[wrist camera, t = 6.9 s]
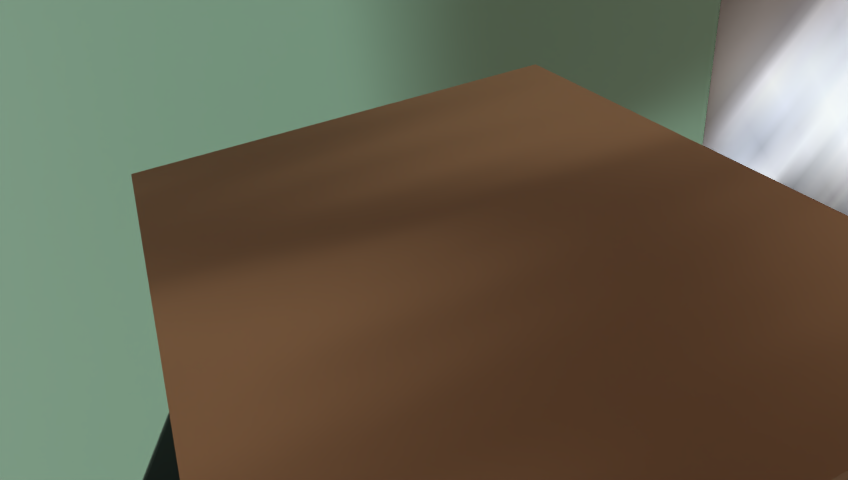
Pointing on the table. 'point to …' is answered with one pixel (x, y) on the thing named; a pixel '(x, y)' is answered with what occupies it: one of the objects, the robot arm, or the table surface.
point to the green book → (222, 128)
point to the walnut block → (495, 299)
